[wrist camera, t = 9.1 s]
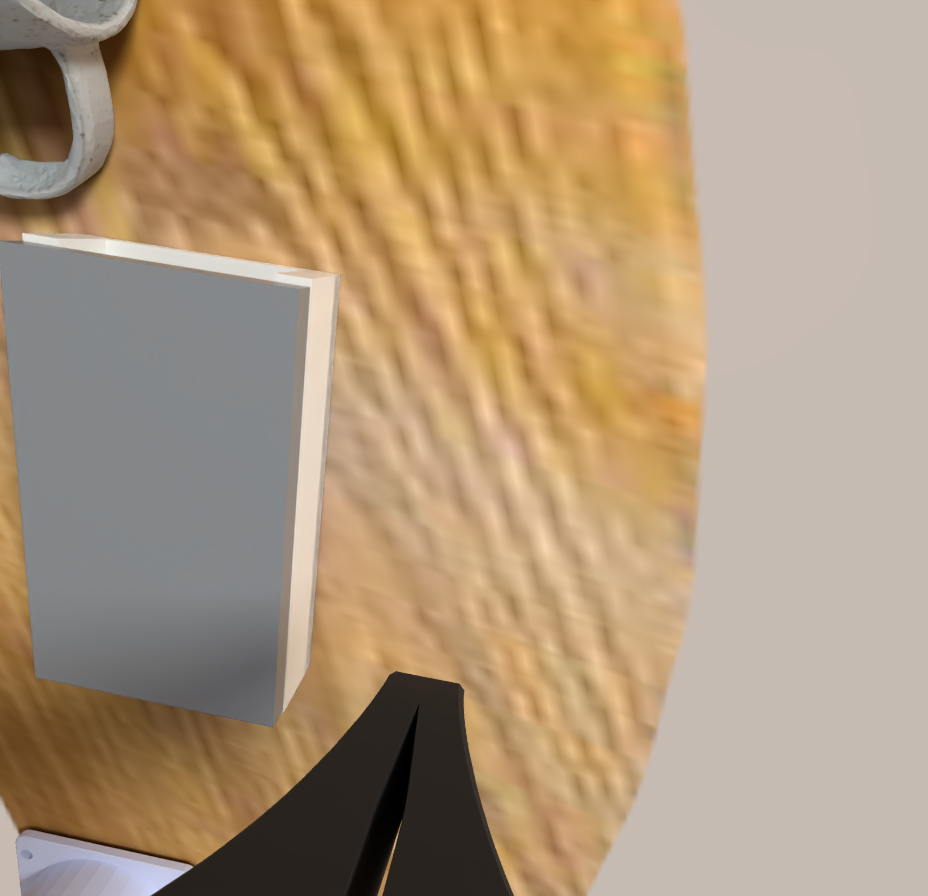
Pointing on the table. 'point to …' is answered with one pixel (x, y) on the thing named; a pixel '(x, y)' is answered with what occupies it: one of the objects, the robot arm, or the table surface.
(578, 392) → the table surface
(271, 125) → the table surface
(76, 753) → the table surface
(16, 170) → the ceramic mug
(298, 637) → the cable duct
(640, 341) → the table surface
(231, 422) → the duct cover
